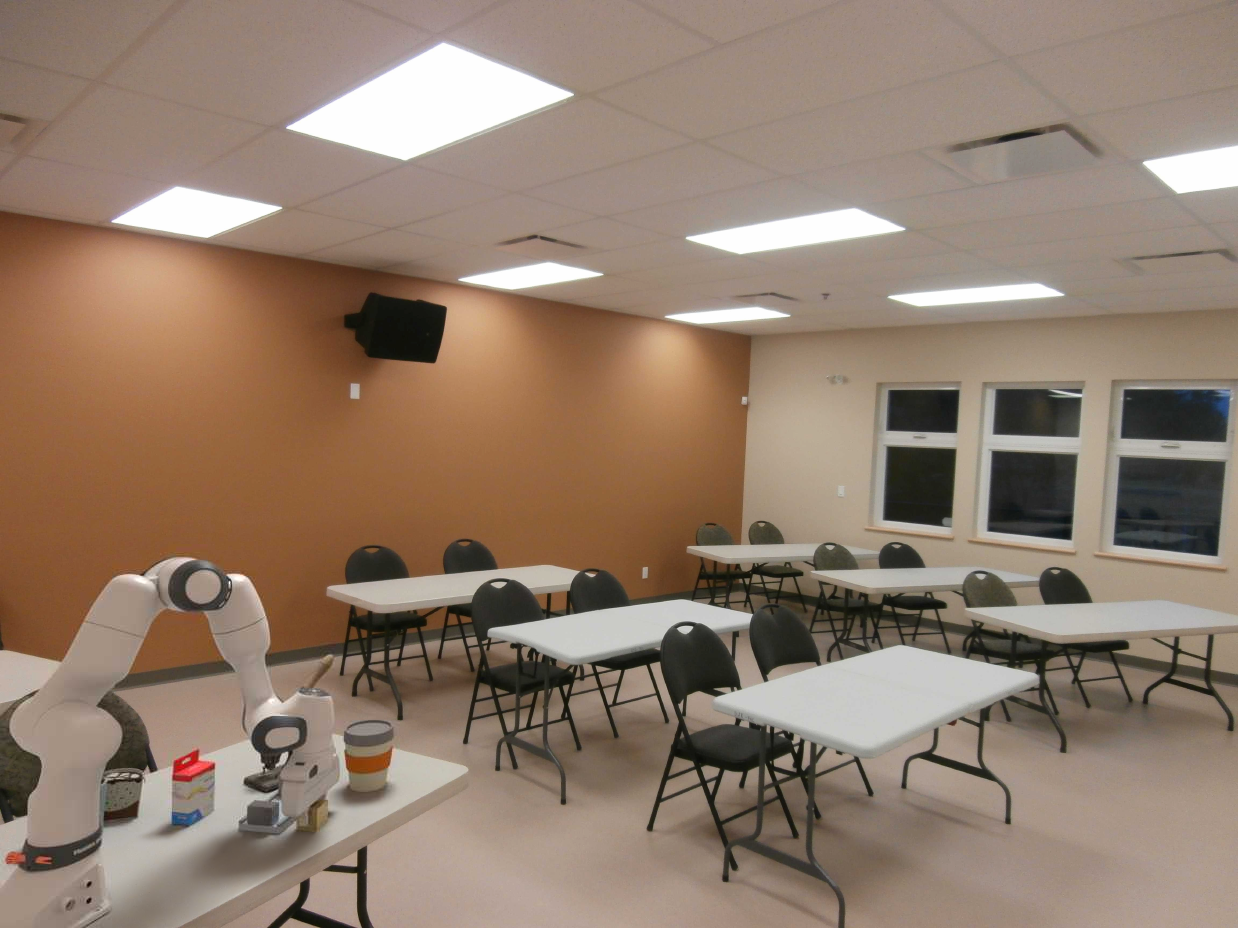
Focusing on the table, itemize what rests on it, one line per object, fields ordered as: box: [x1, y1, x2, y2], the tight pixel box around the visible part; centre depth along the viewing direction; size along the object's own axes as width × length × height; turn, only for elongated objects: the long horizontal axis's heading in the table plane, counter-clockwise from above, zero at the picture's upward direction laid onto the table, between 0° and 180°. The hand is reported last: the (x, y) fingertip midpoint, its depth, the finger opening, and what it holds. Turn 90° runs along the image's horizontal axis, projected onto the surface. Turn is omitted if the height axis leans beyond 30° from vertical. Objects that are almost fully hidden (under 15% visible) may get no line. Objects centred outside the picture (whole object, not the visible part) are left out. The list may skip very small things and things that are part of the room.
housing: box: [295, 799, 329, 832], centre depth 181 cm, size 5×5×5 cm
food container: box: [103, 767, 147, 823], centre depth 184 cm, size 12×6×10 cm, turn 113°
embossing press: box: [243, 653, 341, 792], centre depth 209 cm, size 11×24×30 cm, turn 145°
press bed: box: [238, 775, 296, 835], centre depth 186 cm, size 18×10×6 cm, turn 173°
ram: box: [246, 799, 279, 826], centre depth 180 cm, size 4×6×4 cm
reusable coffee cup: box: [342, 718, 395, 793], centre depth 204 cm, size 12×12×15 cm
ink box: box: [171, 748, 216, 827], centre depth 184 cm, size 8×5×15 cm, turn 168°
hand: (312, 817), depth 181 cm, fingers closed on housing, 5 cm apart
